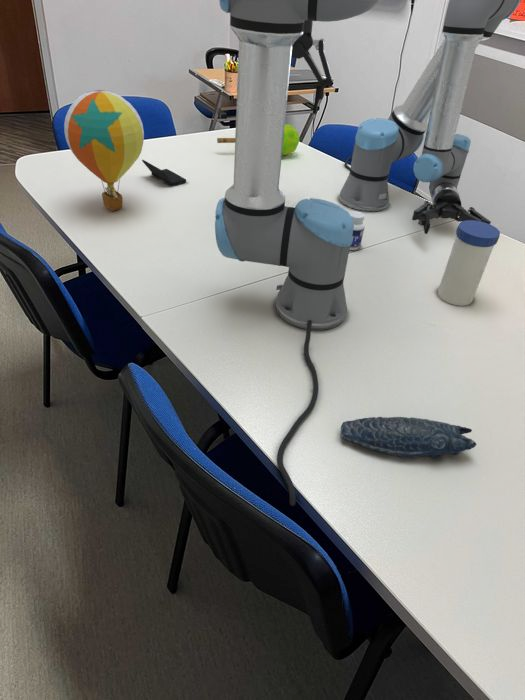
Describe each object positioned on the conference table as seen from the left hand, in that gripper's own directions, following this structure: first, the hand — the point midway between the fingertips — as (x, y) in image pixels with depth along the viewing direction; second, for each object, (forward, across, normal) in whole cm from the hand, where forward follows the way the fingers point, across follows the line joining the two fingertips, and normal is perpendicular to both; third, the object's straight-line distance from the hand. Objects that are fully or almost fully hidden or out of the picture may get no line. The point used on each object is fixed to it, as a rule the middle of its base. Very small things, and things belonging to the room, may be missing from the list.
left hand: (288, 109), depth 135 cm
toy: (+28, +45, +13) cm, 55 cm away
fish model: (+28, -31, +84) cm, 94 cm away
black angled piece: (+28, +38, -12) cm, 49 cm away
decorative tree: (+28, +14, -47) cm, 56 cm away
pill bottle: (+28, -21, +16) cm, 39 cm away
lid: (+11, -46, +34) cm, 59 cm away
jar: (+28, -46, +34) cm, 64 cm away
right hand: (+21, -47, +14) cm, 54 cm away
